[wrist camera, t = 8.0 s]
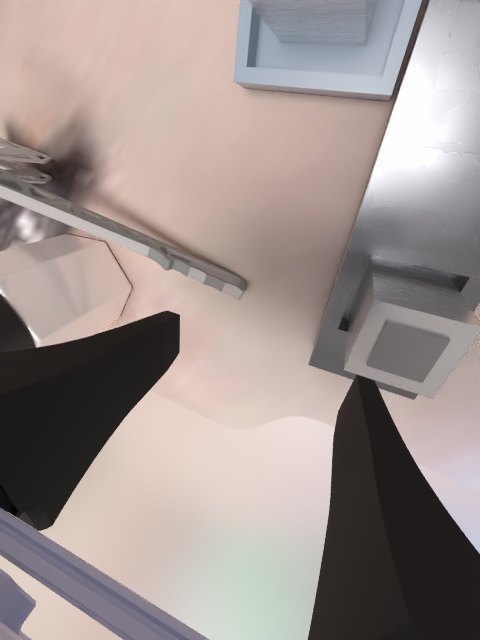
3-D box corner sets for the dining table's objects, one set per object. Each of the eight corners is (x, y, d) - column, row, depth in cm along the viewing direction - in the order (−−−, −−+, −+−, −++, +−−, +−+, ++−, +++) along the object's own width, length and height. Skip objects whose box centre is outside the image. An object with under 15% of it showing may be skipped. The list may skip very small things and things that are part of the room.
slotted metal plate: (740, -164, 8) (860, -264, 6) (409, 375, 20) (414, 399, 18) (472, -137, 10) (499, -209, 8) (313, 345, 22) (308, 364, 20)
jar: (70, 303, 31) (-64, 372, 21) (48, 227, 26) (-134, 271, 17) (138, 323, 28) (22, 412, 19) (126, 244, 24) (-34, 305, 14)
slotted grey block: (446, 273, 15) (485, 330, 10) (414, 331, 18) (433, 401, 13) (371, 256, 16) (374, 301, 11) (349, 313, 19) (343, 372, 14)
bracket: (-22, 117, 21) (-157, 144, 13) (243, 222, 27) (252, 279, 20) (-15, 162, 23) (-131, 207, 15) (230, 250, 29) (235, 312, 21)
